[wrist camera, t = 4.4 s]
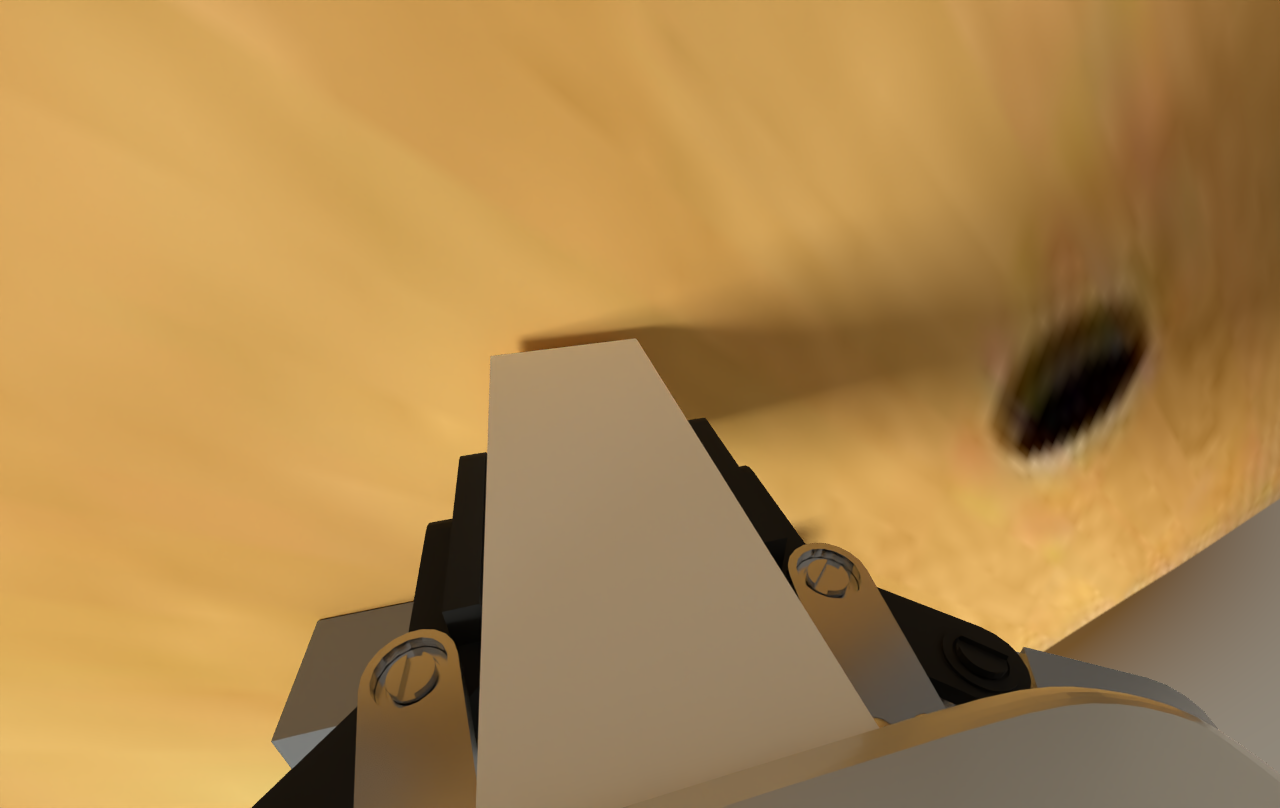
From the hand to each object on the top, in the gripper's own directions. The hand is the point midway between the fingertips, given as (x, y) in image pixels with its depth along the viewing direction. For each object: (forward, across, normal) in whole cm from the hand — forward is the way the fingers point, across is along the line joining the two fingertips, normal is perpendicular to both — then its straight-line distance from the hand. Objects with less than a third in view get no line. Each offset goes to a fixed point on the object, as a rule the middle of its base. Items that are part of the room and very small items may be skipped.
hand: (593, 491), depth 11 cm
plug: (+4, 0, 0) cm, 4 cm away
